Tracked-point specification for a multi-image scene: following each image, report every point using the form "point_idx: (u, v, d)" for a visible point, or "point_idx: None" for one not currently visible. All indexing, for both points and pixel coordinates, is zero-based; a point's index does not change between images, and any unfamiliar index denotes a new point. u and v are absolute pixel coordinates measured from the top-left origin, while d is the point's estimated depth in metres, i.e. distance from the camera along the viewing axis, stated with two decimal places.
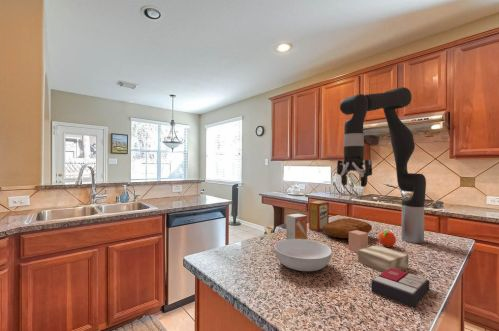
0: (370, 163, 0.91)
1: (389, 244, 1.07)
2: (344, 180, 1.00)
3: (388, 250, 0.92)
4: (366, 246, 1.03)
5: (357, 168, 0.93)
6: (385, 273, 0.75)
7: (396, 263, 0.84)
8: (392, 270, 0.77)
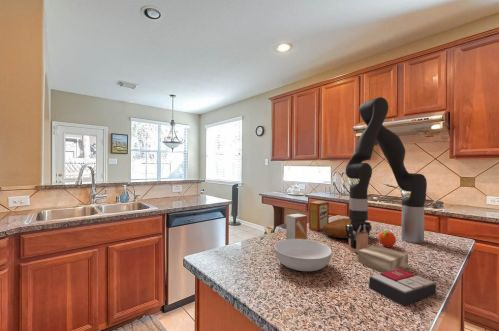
0: None
1: (389, 244, 1.07)
2: None
3: (387, 250, 0.92)
4: (366, 246, 1.03)
5: (365, 230, 1.04)
6: (388, 272, 0.75)
7: (397, 263, 0.84)
8: (399, 271, 0.77)
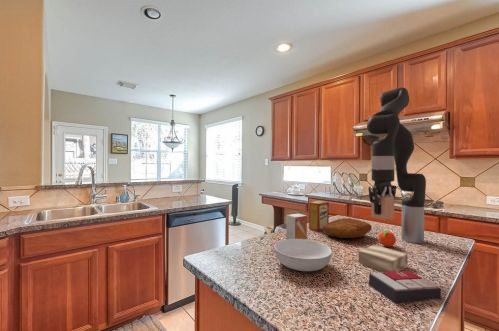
0: None
1: (389, 244, 1.07)
2: None
3: (387, 250, 0.92)
4: (392, 212, 0.88)
5: (391, 193, 0.90)
6: (392, 272, 0.75)
7: (398, 263, 0.84)
8: (406, 272, 0.76)
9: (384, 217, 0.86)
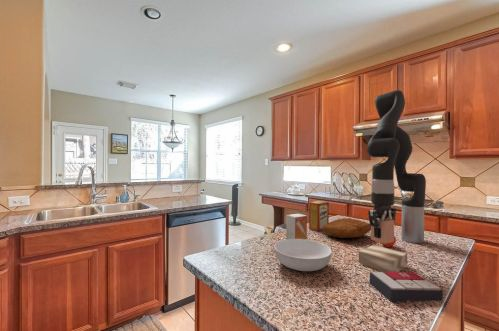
0: None
1: (389, 244, 1.07)
2: None
3: (386, 250, 0.92)
4: (392, 235, 0.88)
5: (390, 216, 0.90)
6: (394, 272, 0.75)
7: (398, 263, 0.84)
8: (409, 273, 0.75)
9: (384, 241, 0.87)
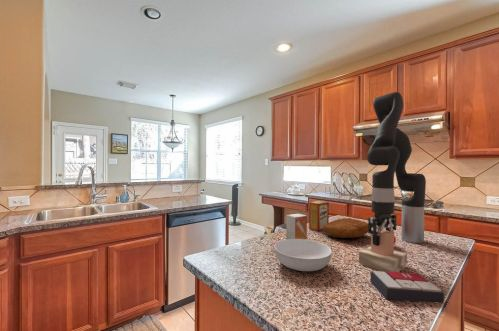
0: None
1: None
2: None
3: None
4: (391, 248, 0.88)
5: (391, 224, 0.90)
6: (397, 272, 0.75)
7: (398, 263, 0.84)
8: (413, 274, 0.74)
9: (384, 253, 0.86)
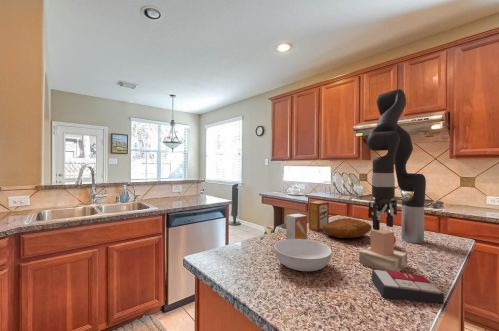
0: None
1: None
2: None
3: None
4: (391, 248, 0.88)
5: (392, 209, 0.90)
6: (399, 273, 0.75)
7: (399, 263, 0.84)
8: (416, 275, 0.74)
9: (383, 253, 0.87)
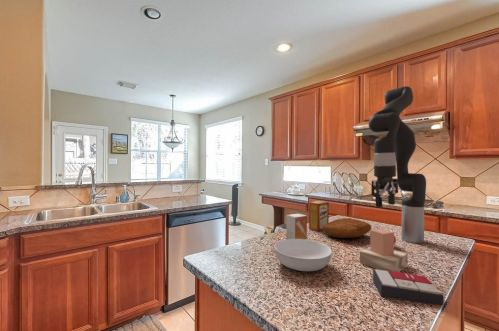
0: None
1: None
2: None
3: None
4: (391, 248, 0.88)
5: (393, 187, 0.94)
6: (400, 273, 0.75)
7: (399, 263, 0.84)
8: (418, 276, 0.73)
9: (382, 253, 0.86)
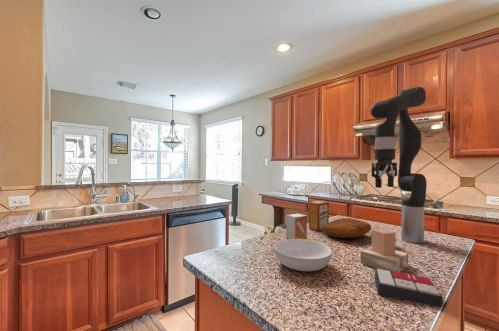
0: None
1: None
2: None
3: None
4: (392, 248, 0.88)
5: (392, 169, 1.00)
6: (402, 273, 0.75)
7: (400, 263, 0.85)
8: (421, 277, 0.72)
9: (382, 253, 0.87)
